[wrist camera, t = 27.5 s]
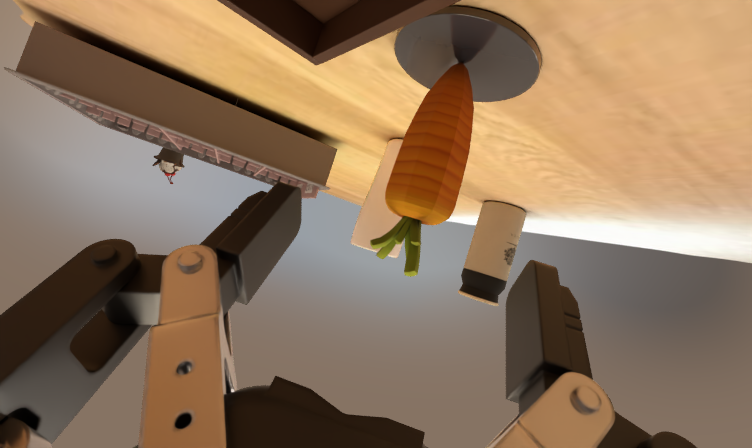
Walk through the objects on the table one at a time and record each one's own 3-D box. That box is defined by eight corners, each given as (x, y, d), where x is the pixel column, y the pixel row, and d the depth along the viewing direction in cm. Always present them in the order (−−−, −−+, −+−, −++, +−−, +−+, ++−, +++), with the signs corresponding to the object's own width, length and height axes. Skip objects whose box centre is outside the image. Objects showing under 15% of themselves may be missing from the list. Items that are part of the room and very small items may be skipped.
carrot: (436, 80, 27) (378, 263, 26) (417, 38, 23) (347, 257, 22) (500, 85, 25) (440, 284, 24) (494, 40, 21) (420, 282, 20)
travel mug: (487, 207, 71) (462, 292, 70) (479, 197, 64) (451, 291, 63) (528, 216, 67) (502, 306, 66) (524, 206, 60) (495, 307, 59)
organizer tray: (27, 2, 39) (-6, 84, 39) (346, 142, 55) (326, 201, 55) (112, 86, 69) (94, 133, 68) (304, 161, 84) (291, 200, 84)
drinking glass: (405, 132, 42) (368, 249, 42) (441, 154, 46) (408, 262, 46) (373, 136, 48) (340, 240, 47) (408, 156, 52) (377, 251, 51)
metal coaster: (487, -21, 17) (485, -12, 17) (567, 84, 23) (565, 91, 23) (369, 35, 25) (366, 42, 25) (452, 103, 31) (450, 108, 31)
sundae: (202, 132, 89) (183, 187, 88) (177, 124, 89) (157, 179, 88) (189, 123, 83) (168, 183, 82) (162, 115, 83) (140, 174, 82)
